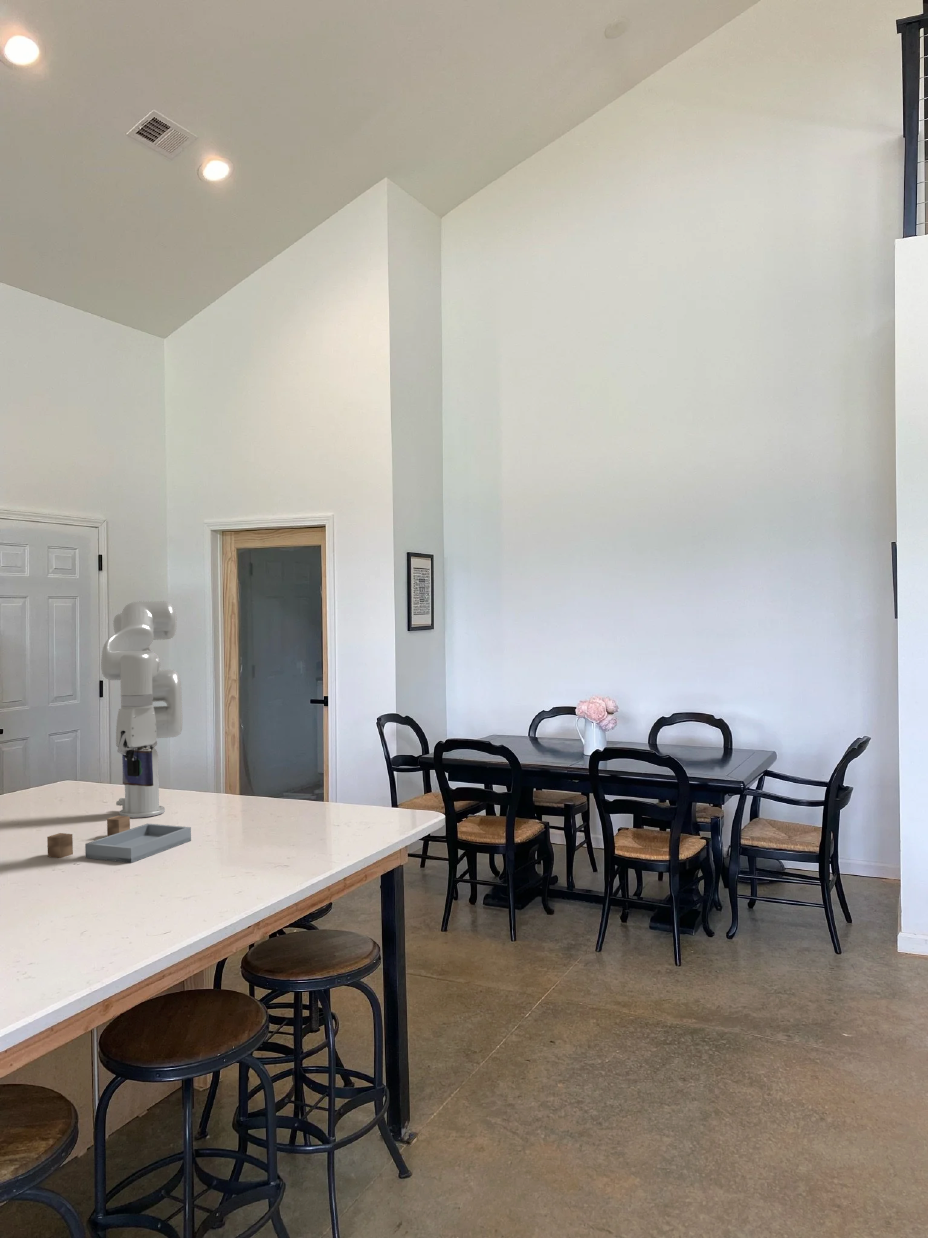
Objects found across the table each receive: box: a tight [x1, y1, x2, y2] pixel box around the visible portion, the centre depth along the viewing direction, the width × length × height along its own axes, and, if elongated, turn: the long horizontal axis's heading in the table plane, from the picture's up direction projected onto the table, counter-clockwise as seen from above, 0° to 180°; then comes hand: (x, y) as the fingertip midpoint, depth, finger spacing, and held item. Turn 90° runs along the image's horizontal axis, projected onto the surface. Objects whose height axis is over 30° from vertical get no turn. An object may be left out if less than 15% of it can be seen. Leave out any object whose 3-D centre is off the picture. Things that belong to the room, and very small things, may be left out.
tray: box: [84, 823, 192, 864], centre depth 230 cm, size 14×22×4 cm, turn 158°
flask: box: [121, 747, 153, 787], centre depth 230 cm, size 9×3×11 cm, turn 66°
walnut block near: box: [46, 832, 74, 859], centre depth 225 cm, size 4×4×5 cm
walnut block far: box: [106, 815, 131, 837], centre depth 244 cm, size 4×4×5 cm
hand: (138, 774), depth 230 cm, fingers closed on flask, 2 cm apart
